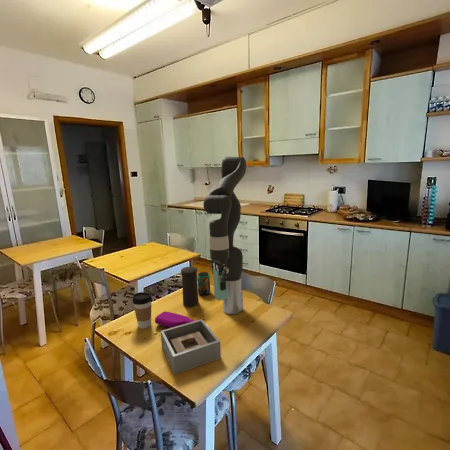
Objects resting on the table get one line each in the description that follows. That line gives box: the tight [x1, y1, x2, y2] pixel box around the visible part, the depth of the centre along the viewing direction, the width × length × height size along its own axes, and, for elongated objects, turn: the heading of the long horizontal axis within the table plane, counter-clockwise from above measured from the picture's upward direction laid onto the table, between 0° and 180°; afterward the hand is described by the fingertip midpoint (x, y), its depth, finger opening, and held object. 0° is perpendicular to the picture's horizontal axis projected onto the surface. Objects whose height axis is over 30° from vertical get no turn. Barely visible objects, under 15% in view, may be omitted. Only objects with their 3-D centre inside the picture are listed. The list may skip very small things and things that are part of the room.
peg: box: [212, 269, 228, 302], centre depth 112 cm, size 4×4×12 cm
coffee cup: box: [132, 291, 152, 329], centre depth 128 cm, size 8×8×15 cm
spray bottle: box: [154, 311, 210, 328], centre depth 128 cm, size 3×11×24 cm
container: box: [180, 266, 200, 308], centre depth 147 cm, size 9×9×20 cm
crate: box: [160, 318, 222, 375], centre depth 109 cm, size 18×18×7 cm
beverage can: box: [197, 271, 211, 296], centre depth 160 cm, size 7×7×12 cm
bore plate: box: [170, 331, 208, 354], centre depth 109 cm, size 12×12×3 cm
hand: (220, 287), depth 112 cm, fingers closed on peg, 4 cm apart
